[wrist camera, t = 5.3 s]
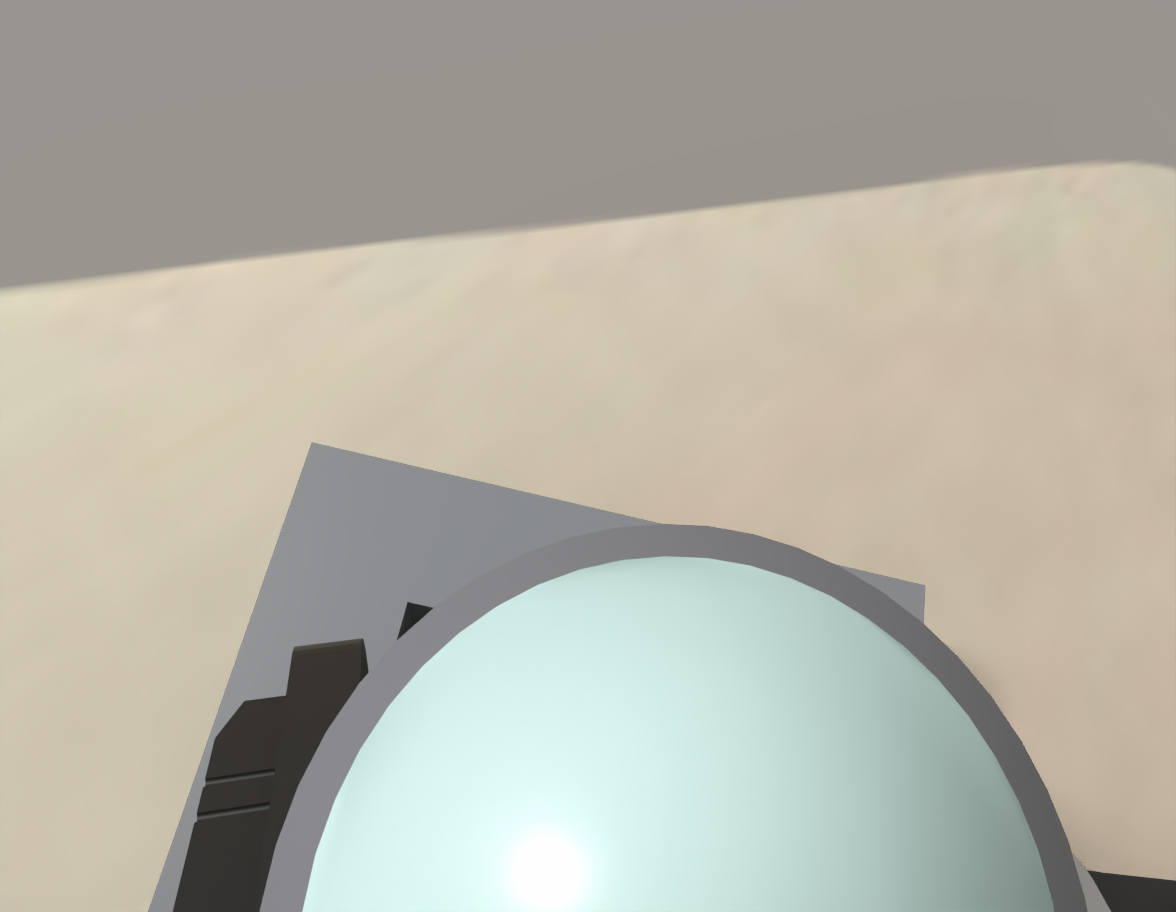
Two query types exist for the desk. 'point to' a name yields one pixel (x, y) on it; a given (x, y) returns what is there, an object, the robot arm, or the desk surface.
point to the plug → (671, 750)
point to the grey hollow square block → (388, 574)
